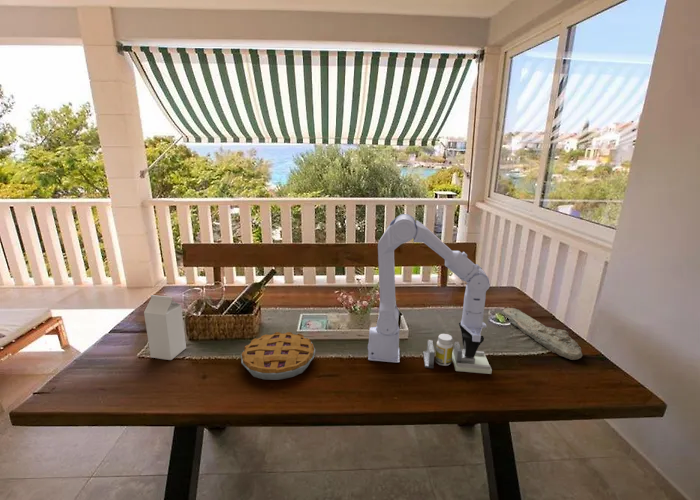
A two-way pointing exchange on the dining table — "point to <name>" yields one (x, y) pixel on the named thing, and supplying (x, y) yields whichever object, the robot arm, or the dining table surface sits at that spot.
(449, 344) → the supplement bottle
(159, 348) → the milk carton
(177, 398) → the dining table surface
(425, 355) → the jaw
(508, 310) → the long grey stone
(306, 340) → the pie
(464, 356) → the grey boxy piece
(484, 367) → the bed
